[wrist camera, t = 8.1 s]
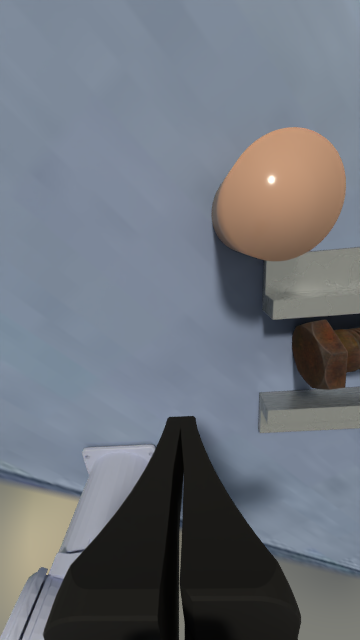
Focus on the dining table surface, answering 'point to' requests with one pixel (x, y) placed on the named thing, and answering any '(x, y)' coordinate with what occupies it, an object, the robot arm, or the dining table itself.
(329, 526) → the dining table surface
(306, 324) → the bolt
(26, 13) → the dining table surface
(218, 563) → the robot arm
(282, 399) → the bracket
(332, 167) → the tan rounded block
